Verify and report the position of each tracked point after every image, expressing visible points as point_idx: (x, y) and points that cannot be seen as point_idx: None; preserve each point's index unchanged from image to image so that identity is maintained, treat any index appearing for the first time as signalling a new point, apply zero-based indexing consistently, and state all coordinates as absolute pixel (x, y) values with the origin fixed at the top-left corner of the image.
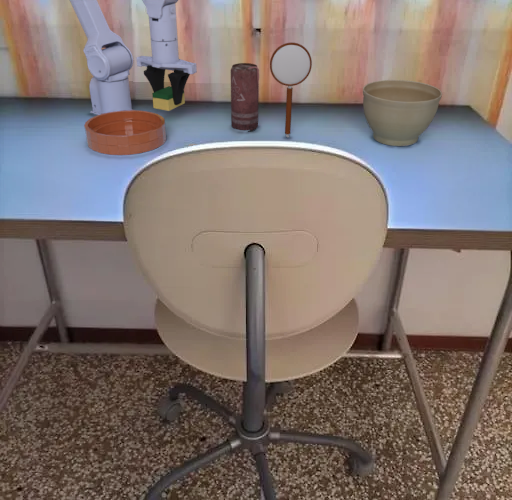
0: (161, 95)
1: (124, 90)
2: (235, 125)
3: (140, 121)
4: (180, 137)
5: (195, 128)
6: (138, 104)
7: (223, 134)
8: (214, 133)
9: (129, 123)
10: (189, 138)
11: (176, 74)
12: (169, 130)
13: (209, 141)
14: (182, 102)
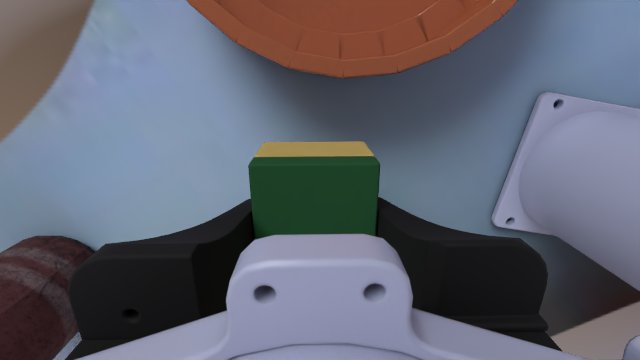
0: (302, 163)
1: (619, 208)
2: (47, 244)
3: (376, 36)
4: (190, 77)
5: (209, 191)
6: (547, 297)
7: (79, 188)
8: (113, 181)
9: (425, 8)
10: (152, 86)
11: (105, 292)
12: (280, 124)
13: (64, 97)
14: None
